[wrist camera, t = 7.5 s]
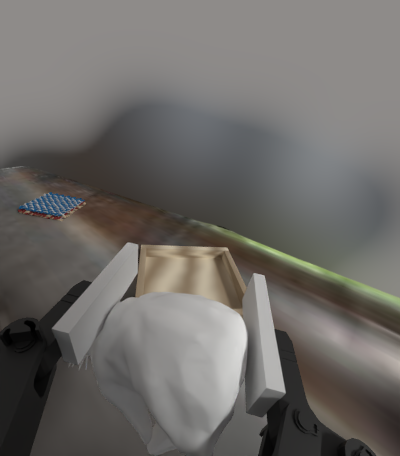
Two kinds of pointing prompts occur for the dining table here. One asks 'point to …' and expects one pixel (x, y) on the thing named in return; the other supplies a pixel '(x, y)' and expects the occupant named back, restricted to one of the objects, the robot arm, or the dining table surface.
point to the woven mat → (52, 206)
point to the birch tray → (191, 273)
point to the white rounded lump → (172, 368)
